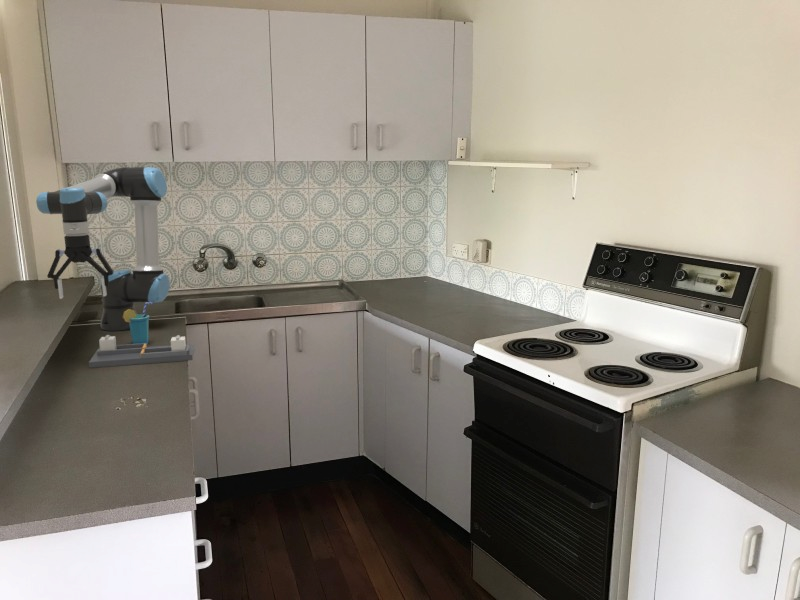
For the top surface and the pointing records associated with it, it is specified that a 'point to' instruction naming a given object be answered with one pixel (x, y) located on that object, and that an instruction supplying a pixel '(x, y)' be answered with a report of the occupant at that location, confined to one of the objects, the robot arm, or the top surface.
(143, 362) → the switch bank
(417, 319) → the top surface
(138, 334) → the cup
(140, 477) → the top surface
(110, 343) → the tab
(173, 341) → the tab
